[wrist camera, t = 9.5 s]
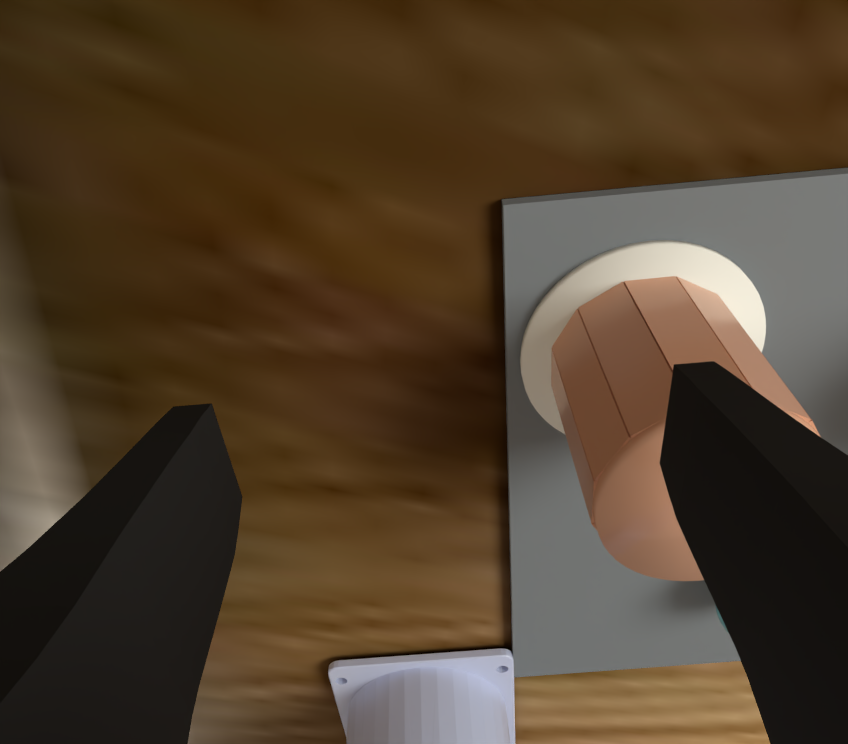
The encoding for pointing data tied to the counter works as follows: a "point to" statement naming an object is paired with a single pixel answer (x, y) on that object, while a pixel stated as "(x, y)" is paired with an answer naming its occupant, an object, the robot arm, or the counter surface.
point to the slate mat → (540, 420)
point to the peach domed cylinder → (644, 406)
